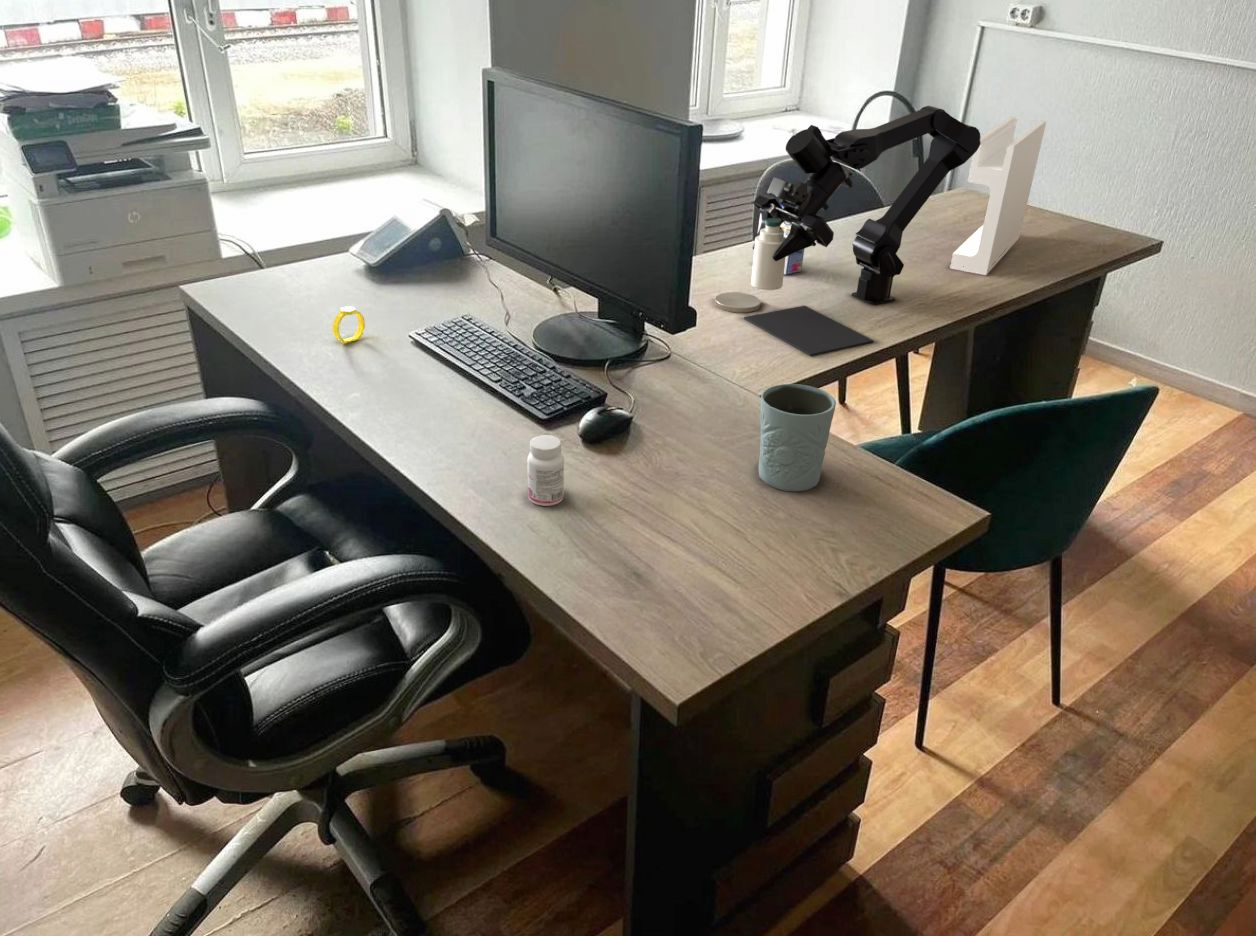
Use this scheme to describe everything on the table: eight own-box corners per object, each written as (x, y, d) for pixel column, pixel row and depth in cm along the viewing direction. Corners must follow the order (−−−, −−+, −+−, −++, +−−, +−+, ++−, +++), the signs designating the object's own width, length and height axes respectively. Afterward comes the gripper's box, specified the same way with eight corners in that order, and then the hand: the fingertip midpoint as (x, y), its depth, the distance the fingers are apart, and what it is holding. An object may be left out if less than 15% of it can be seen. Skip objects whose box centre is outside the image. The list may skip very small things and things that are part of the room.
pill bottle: (527, 488, 136) (527, 433, 131) (563, 488, 136) (563, 433, 132) (527, 507, 131) (527, 450, 127) (564, 506, 132) (564, 450, 128)
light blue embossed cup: (775, 499, 136) (785, 419, 130) (739, 464, 144) (747, 388, 138) (838, 486, 139) (851, 408, 133) (799, 453, 147) (810, 378, 141)
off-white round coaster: (742, 294, 206) (742, 289, 206) (768, 308, 199) (769, 303, 199) (705, 300, 202) (706, 295, 201) (732, 315, 195) (732, 310, 195)
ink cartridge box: (803, 271, 220) (812, 205, 213) (786, 276, 217) (794, 209, 210) (769, 259, 227) (776, 195, 219) (753, 264, 223) (759, 198, 216)
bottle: (769, 277, 196) (776, 214, 190) (788, 287, 192) (796, 222, 186) (744, 282, 194) (750, 218, 187) (763, 292, 189) (770, 226, 183)
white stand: (986, 275, 223) (1014, 145, 209) (949, 268, 226) (975, 140, 212) (1019, 238, 249) (1046, 121, 236) (986, 232, 253) (1011, 116, 239)
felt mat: (804, 307, 201) (804, 305, 201) (873, 342, 186) (873, 340, 186) (743, 318, 194) (744, 316, 194) (810, 356, 179) (810, 354, 179)
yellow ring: (341, 347, 174) (338, 315, 171) (331, 343, 176) (327, 311, 173) (369, 338, 178) (365, 306, 176) (358, 334, 180) (355, 302, 177)
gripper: (765, 151, 190) (713, 215, 191) (829, 173, 176) (772, 242, 177) (794, 188, 197) (743, 250, 198) (857, 213, 184) (802, 279, 184)
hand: (763, 254), depth 189 cm, fingers closed on bottle, 6 cm apart
